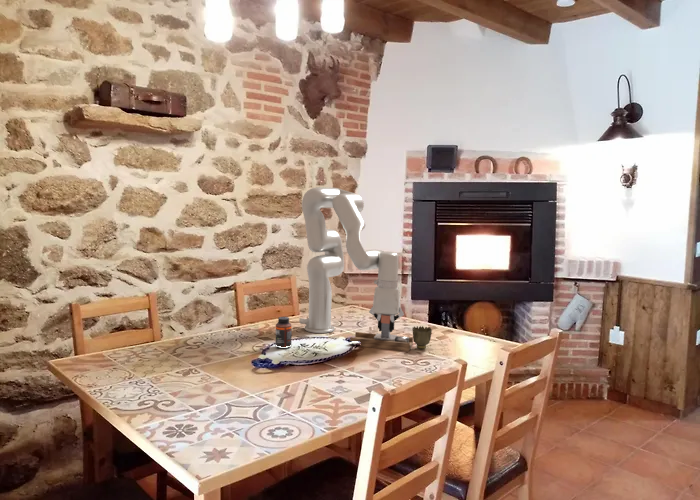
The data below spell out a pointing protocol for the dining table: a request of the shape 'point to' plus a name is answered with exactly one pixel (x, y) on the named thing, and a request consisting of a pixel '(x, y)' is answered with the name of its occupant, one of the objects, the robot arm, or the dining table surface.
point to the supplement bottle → (283, 332)
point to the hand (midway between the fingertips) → (385, 330)
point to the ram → (385, 331)
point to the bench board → (381, 342)
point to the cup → (421, 336)
